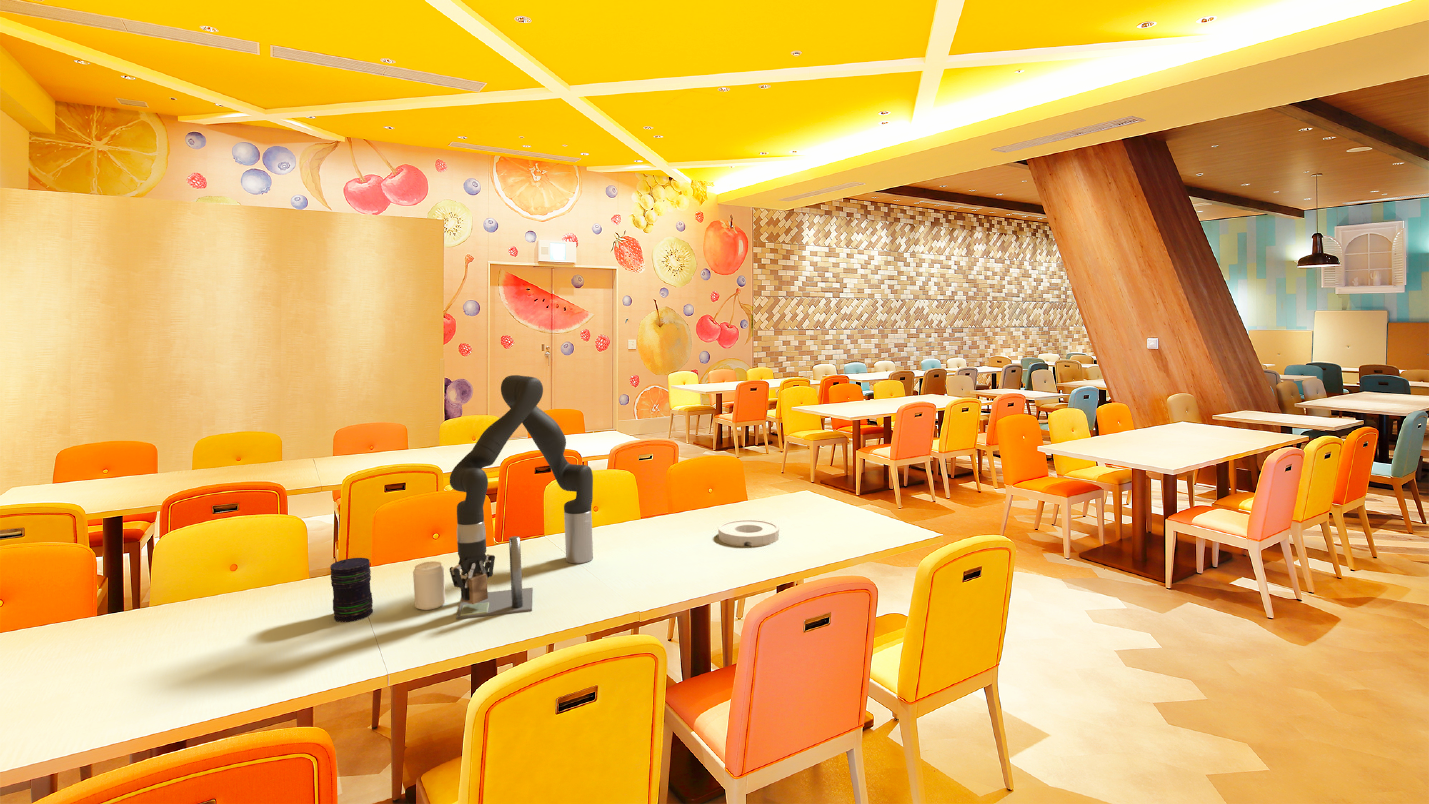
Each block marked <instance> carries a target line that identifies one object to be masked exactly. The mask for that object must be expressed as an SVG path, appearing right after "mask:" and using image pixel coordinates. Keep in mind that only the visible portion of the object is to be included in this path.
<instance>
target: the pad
mask: <svg viewBox="0 0 1429 804" xmlns="http://www.w3.org/2000/svg"><path fill="white" fill-rule="evenodd" d="M482 604H484V605H486V604H487V605H488V603H486V604H485V603H481V605H479V606H478V604H477V605H476V604H473V605H476V606H475V608H477V609H476V610H477V611H476V610H475V609H474V610H475V612H474V610H473V609H472V608H474V607H473V605H472V604H470V605H469V607H467V606H463V607H465V610H466V608H469V609H470V608H471V610H473V611H471V610H469V611H470V613H471V612H472V613H473V612H474V613H479V611H481V610H482V609H481V608H483V610H482V611H483V612H485V610H486V612H487V608H488V607H487V605H486V606H484V605H482ZM471 605H472V606H471ZM470 606H471V607H470ZM482 606H483V607H482ZM480 607H481V608H480ZM484 607H485V608H486V609H485V608H484ZM479 608H480V610H479ZM466 611H468V610H466ZM466 611H465V613H467V614H468V612H466ZM482 611H481V612H482ZM462 612H464V608H463V610H462ZM462 612H461V613H462ZM463 614H464V613H463Z"/></svg>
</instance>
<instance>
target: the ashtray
mask: <svg viewBox="0 0 1429 804" xmlns="http://www.w3.org/2000/svg"><path fill="white" fill-rule="evenodd" d="M717 528H718V540H719V541H720V542H722V543H724V544H727V545H731V546H734V547H735V546H737V547H745V545H747V546H750V547H760V546H761V547H762V546H767V545H771V544H773V543H776V542H777V541H779V540H780V539H779V537H780V536H779V534H780V526H779V525H778V524H777V523H774V522H772V521H768V520H767V521H766V520H760V519H738V520H737V519H735V520H730V521H727V522H724V523H722V524H720V525H719V526H718V527H717Z"/></svg>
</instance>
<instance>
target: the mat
mask: <svg viewBox="0 0 1429 804" xmlns="http://www.w3.org/2000/svg"><path fill="white" fill-rule="evenodd" d="M533 590H534V589H533V587H526V588H524V587H522V596H523V607H521V608H512V597H511V589H505V590H495V591H488V599H485V600H483V601H480V602H478V603H476V605H477V604H478V606H479V605H481V603H485V604H486V603H488V605H487V604H486V605H487V607H488V608H487V612H486V610H485V612H483V611H482V610H483V608H481V607H480V608H481V609H482V610H481V611H482V612H481V611H479V613H474V612H475V610H476V609H477V608H475V606H476V605H473V604H472V605H473V607H474V608H472V609H473V610H474V609H475V610H474V612H473V613H472V612H471V613H470V611H469V610H471V608H470V609H469V608H466V610H468V611H466V610H465V607H463V606H467V607H469V605H470V603H467V602H463V601H461V600H460V604H459V608H458V611H457V615H456V620H462V619H472V618H480V617H490V616H498V615H506V614H507V615H508V614H516V613H523V612H525V613H526V612H532V611H533ZM472 605H471V606H472ZM482 605H484V604H482ZM486 605H484V606H486ZM471 606H470V607H471ZM482 607H483V606H482ZM463 608H464V612H462V610H463ZM480 608H479V610H480ZM484 608H485V607H484ZM485 609H486V608H485ZM473 610H471V611H473ZM465 611H466V612H468V614H467V613H465ZM476 611H477V610H476ZM461 612H462V613H461ZM463 613H464V614H463Z"/></svg>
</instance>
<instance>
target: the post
mask: <svg viewBox="0 0 1429 804" xmlns="http://www.w3.org/2000/svg"><path fill="white" fill-rule="evenodd" d="M508 547H509V549H508V550H509V568H510V569H509V570H510V573H509V575H510V590H511V597H512V608H521V607H523V596H522V589H523V578H522V577H523V575H522V573H523V572H522V557H521V555H522V554H521V553H522V551H521V537H520V536H519V535H517V536H516V535H514V536H510V537H508Z"/></svg>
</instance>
